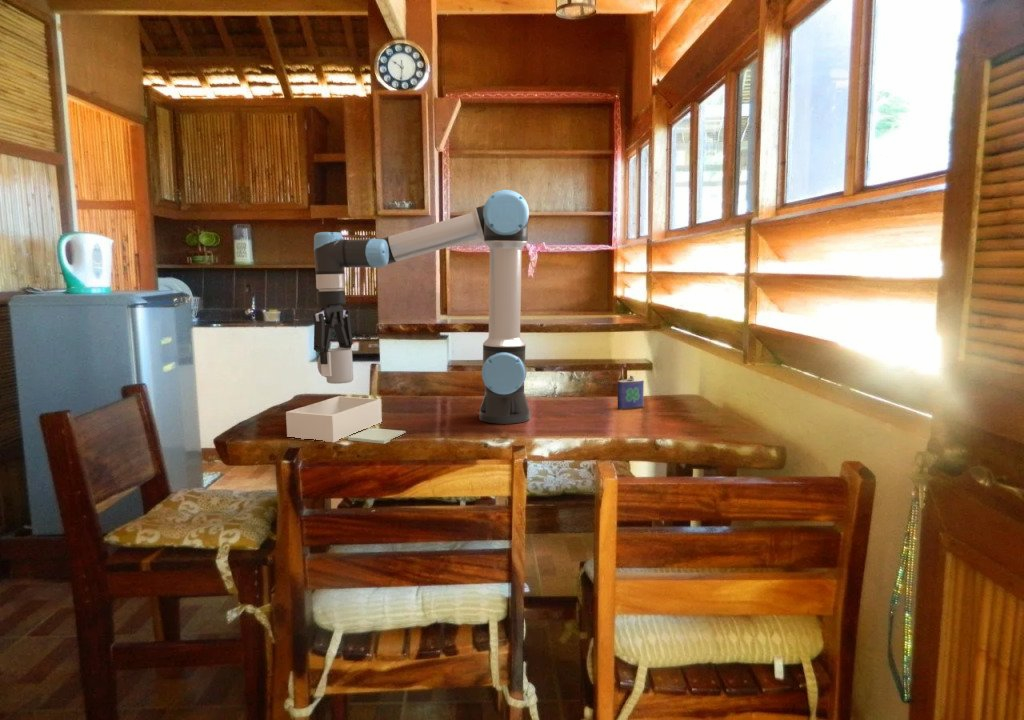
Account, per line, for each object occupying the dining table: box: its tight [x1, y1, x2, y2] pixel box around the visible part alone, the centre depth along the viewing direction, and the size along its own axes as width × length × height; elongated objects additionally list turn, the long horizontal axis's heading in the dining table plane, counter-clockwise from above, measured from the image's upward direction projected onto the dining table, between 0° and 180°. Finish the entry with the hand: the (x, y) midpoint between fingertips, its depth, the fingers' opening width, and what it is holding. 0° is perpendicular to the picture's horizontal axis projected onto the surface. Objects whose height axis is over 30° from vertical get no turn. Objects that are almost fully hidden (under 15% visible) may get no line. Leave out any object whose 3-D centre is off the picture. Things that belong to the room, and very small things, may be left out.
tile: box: [347, 427, 407, 445], centre depth 182 cm, size 11×11×1 cm
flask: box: [617, 374, 645, 411], centre depth 216 cm, size 9×3×11 cm, turn 112°
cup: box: [316, 347, 354, 385], centre depth 187 cm, size 7×10×9 cm
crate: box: [285, 395, 383, 443], centre depth 190 cm, size 15×24×7 cm, turn 159°
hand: (335, 373), depth 188 cm, fingers closed on cup, 7 cm apart
